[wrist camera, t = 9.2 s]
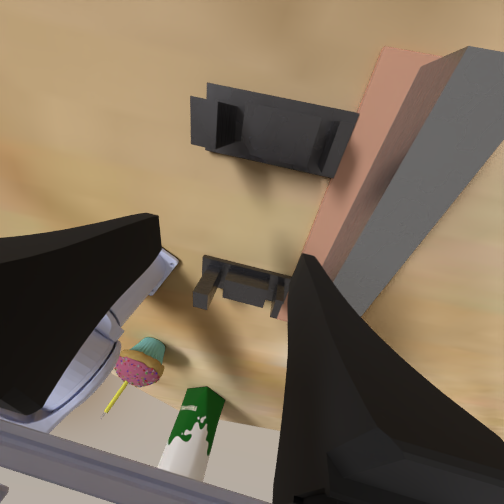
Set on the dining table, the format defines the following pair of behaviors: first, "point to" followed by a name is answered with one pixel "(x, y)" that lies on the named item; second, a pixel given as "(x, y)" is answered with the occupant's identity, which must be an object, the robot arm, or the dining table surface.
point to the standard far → (240, 284)
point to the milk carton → (193, 434)
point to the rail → (419, 169)
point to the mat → (363, 145)
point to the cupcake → (139, 365)
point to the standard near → (271, 129)
